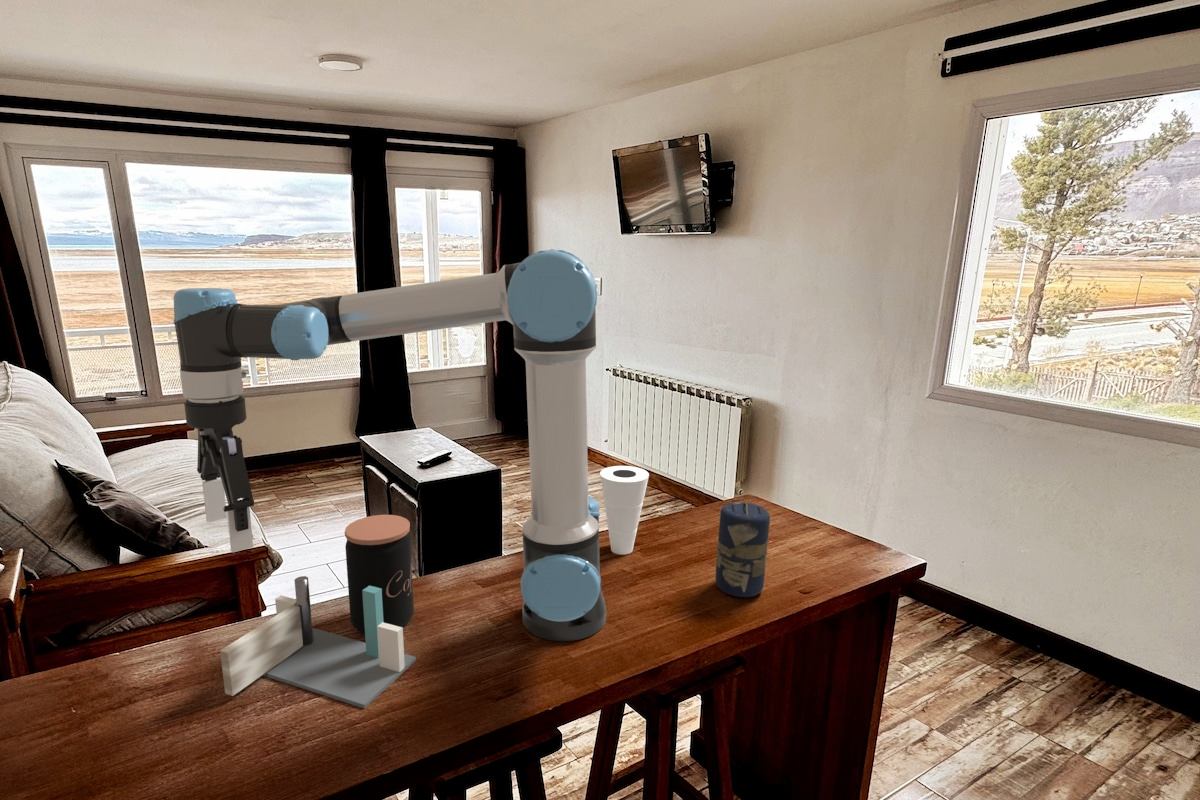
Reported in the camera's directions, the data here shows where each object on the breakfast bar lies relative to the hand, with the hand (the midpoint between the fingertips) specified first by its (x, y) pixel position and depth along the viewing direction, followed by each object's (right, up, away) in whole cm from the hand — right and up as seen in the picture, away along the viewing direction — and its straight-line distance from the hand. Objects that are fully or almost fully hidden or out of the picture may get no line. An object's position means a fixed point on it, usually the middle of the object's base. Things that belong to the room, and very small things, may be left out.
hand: (228, 533), depth 96 cm
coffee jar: (+18, -19, +16) cm, 31 cm away
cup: (+61, -13, +46) cm, 78 cm away
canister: (+84, -18, +31) cm, 91 cm away
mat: (+13, -21, +4) cm, 26 cm away
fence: (+14, -20, +7) cm, 26 cm away
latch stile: (+20, -21, +6) cm, 30 cm away
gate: (+5, -21, +1) cm, 22 cm away
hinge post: (+8, -20, +9) cm, 24 cm away
